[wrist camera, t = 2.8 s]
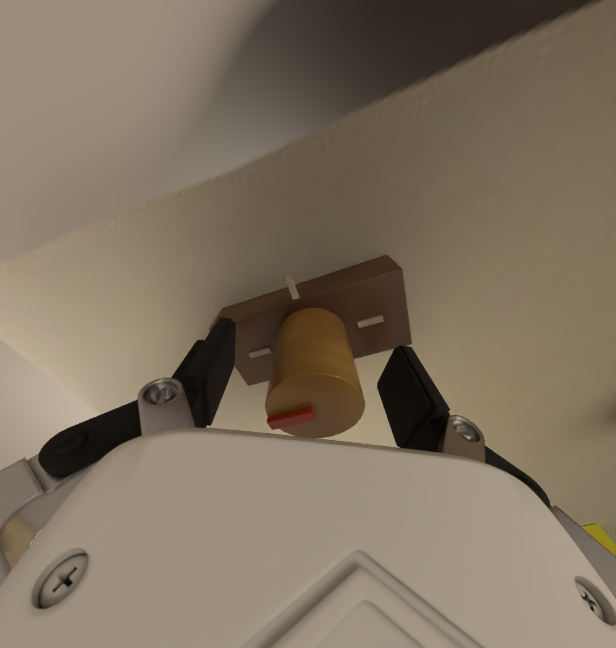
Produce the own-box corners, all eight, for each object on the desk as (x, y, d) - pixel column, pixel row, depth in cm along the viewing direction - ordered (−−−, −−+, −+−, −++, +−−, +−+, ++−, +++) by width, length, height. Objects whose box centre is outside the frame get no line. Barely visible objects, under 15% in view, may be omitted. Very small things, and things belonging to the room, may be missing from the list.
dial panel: (383, 226, 13) (399, 236, 10) (401, 340, 17) (415, 365, 14) (208, 287, 14) (190, 307, 12) (263, 376, 19) (257, 403, 16)
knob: (336, 298, 12) (353, 368, 8) (353, 353, 14) (375, 434, 10) (267, 319, 13) (245, 395, 8) (292, 369, 15) (286, 452, 10)
